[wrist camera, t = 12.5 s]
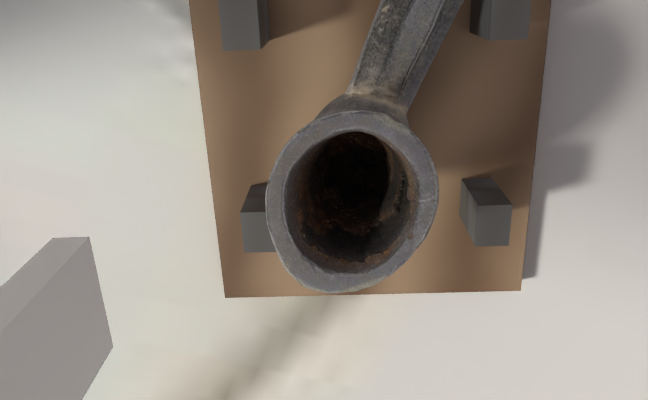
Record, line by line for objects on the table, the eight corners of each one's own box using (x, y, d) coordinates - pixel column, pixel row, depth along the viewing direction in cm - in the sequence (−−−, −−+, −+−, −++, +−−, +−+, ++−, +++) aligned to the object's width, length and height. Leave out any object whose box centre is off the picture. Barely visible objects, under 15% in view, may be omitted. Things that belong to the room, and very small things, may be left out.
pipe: (486, -16, 24) (553, -12, 17) (373, 232, 29) (386, 320, 21) (357, -70, 24) (366, -91, 16) (262, 192, 28) (235, 269, 21)
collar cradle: (228, 288, 31) (211, 335, 27) (180, -116, 24) (147, -135, 20) (514, 281, 31) (542, 328, 27) (556, -134, 23) (604, -158, 19)
